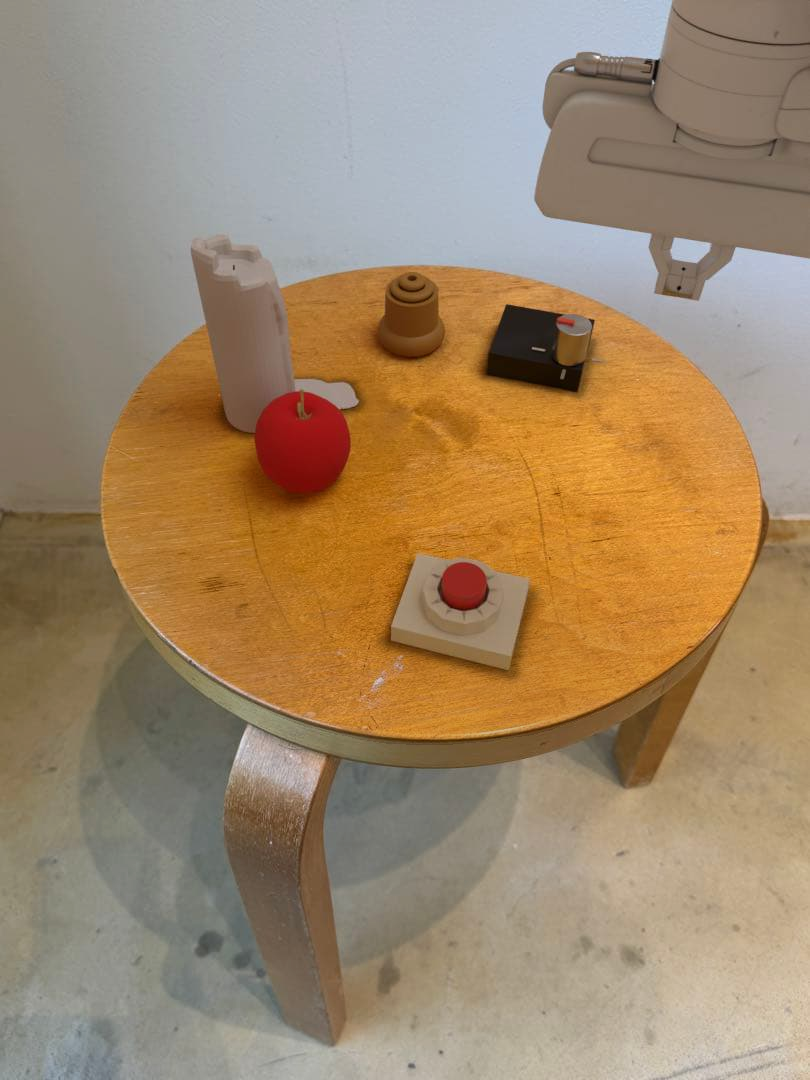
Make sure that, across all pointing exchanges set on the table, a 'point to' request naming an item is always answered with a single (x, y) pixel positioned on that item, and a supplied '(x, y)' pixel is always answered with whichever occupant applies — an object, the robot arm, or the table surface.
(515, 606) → the switch box
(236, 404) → the candle
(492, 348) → the dial panel
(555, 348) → the dial knob
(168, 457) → the table surface
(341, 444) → the fruit
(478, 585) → the power button
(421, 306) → the ornamental finial
